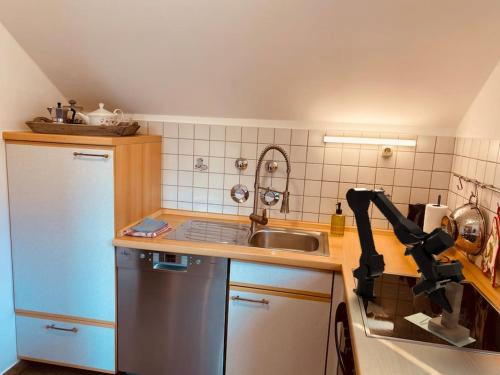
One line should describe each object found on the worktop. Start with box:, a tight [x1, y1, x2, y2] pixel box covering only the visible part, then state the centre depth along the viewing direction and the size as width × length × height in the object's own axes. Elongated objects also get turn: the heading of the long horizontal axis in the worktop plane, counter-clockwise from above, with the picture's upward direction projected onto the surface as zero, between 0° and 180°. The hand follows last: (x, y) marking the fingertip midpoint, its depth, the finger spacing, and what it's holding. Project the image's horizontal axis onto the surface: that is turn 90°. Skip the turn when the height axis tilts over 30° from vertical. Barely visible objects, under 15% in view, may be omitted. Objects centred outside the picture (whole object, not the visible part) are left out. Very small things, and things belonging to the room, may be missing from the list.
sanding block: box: [428, 282, 471, 343], centre depth 112 cm, size 9×6×15 cm, turn 31°
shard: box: [366, 300, 389, 318], centre depth 126 cm, size 11×8×2 cm
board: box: [404, 312, 477, 348], centre depth 115 cm, size 18×8×1 cm, turn 31°
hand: (455, 311), depth 111 cm, fingers closed on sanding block, 3 cm apart
